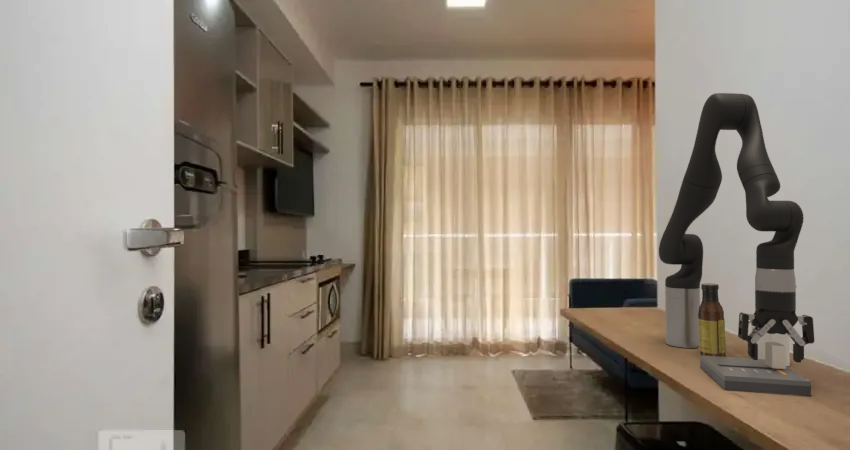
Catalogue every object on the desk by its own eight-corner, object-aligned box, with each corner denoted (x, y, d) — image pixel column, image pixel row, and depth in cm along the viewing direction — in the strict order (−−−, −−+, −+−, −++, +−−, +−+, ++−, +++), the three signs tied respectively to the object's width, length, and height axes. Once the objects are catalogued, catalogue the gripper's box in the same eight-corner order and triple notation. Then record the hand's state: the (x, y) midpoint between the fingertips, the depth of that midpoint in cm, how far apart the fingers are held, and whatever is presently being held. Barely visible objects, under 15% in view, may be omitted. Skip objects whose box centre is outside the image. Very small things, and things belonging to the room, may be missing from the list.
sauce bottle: (719, 354, 137) (718, 282, 137) (730, 360, 131) (730, 285, 131) (694, 354, 138) (693, 282, 138) (704, 359, 131) (704, 284, 132)
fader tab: (765, 369, 114) (765, 341, 114) (778, 370, 114) (777, 342, 114) (772, 374, 110) (772, 345, 111) (786, 374, 110) (785, 346, 110)
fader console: (700, 367, 124) (700, 354, 124) (773, 372, 120) (773, 359, 120) (724, 389, 107) (724, 375, 107) (811, 396, 103) (811, 381, 103)
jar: (797, 364, 127) (797, 317, 127) (781, 368, 123) (780, 320, 123) (759, 356, 135) (759, 312, 135) (743, 360, 131) (743, 315, 131)
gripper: (803, 287, 114) (803, 358, 114) (733, 285, 118) (734, 354, 118) (820, 291, 107) (820, 367, 107) (745, 289, 110) (746, 362, 110)
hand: (775, 360), depth 112 cm, fingers open, 8 cm apart
